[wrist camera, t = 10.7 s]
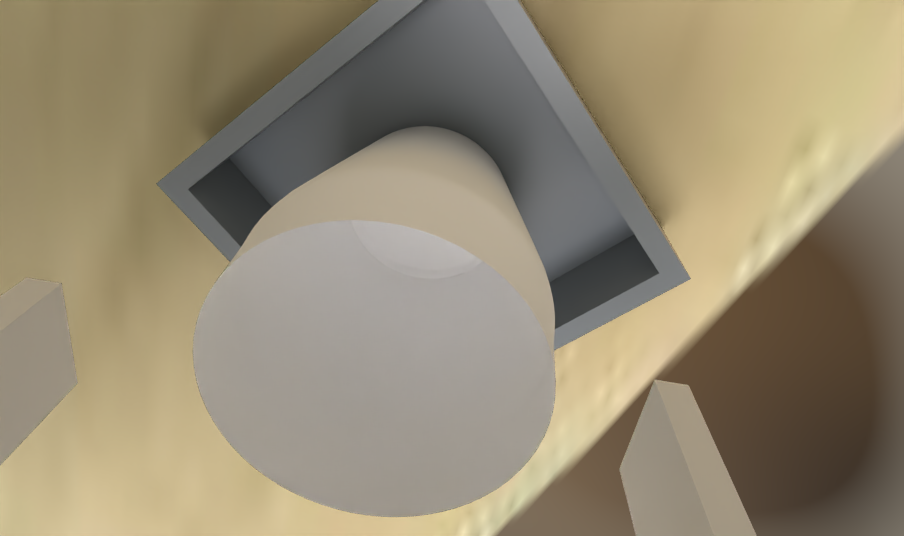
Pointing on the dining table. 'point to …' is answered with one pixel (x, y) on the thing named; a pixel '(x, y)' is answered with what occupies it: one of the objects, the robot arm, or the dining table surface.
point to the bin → (463, 111)
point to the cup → (385, 333)
